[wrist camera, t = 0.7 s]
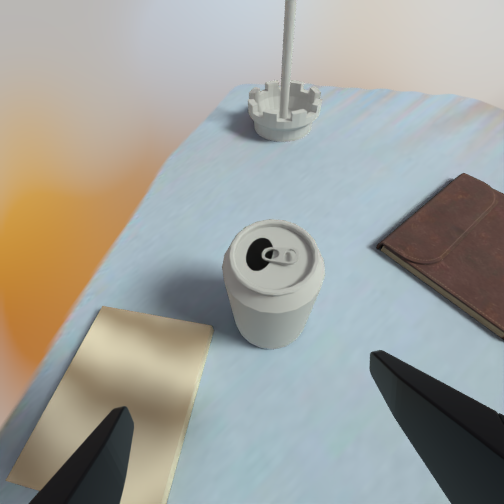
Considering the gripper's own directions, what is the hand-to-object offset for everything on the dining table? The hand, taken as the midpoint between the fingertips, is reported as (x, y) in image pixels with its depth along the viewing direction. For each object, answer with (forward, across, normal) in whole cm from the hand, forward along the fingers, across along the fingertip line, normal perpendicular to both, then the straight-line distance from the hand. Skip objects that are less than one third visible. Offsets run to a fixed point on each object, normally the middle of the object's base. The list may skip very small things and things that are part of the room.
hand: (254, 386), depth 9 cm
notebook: (+19, -30, +6) cm, 36 cm away
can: (+16, -3, +8) cm, 18 cm away
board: (+12, +11, +11) cm, 20 cm away
